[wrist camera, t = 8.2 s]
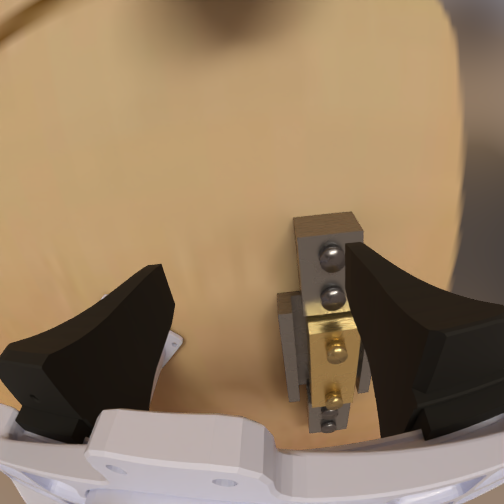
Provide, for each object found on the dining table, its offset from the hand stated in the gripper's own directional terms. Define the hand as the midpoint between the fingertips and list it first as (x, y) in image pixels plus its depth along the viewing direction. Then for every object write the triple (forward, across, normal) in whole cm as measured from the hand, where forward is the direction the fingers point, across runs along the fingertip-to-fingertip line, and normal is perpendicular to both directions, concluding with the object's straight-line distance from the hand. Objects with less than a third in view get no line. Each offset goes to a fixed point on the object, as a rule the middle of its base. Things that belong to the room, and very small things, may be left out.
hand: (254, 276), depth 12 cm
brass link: (+9, -4, +13) cm, 16 cm away
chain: (+9, -4, +13) cm, 17 cm away
